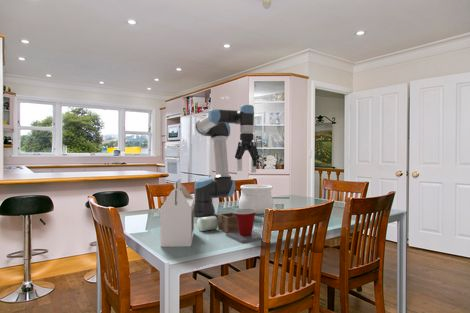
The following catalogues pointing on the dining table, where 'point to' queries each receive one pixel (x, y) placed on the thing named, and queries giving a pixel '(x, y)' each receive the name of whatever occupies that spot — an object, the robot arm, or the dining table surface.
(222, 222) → the walnut box
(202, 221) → the pale green capsule
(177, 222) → the gable box
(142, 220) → the dining table surface
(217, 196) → the robot arm
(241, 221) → the plastic cup
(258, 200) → the pot
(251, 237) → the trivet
